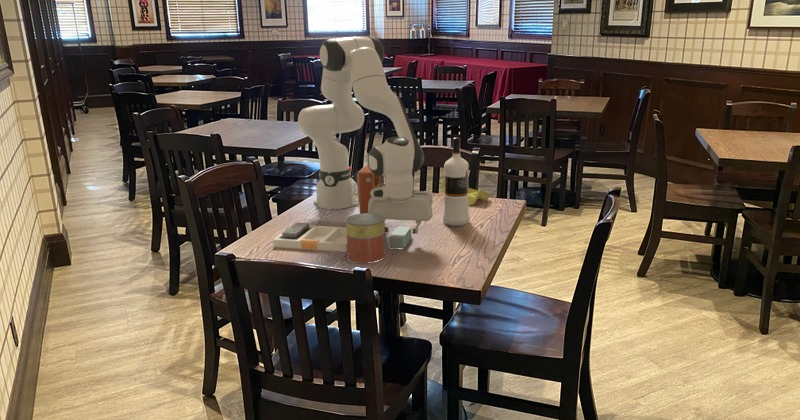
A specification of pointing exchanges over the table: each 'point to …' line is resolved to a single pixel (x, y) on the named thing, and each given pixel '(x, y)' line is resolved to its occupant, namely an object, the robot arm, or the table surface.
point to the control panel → (366, 186)
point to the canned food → (365, 237)
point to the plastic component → (472, 194)
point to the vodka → (456, 188)
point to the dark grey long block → (296, 231)
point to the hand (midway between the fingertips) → (400, 232)
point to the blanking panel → (400, 237)
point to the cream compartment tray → (317, 239)
